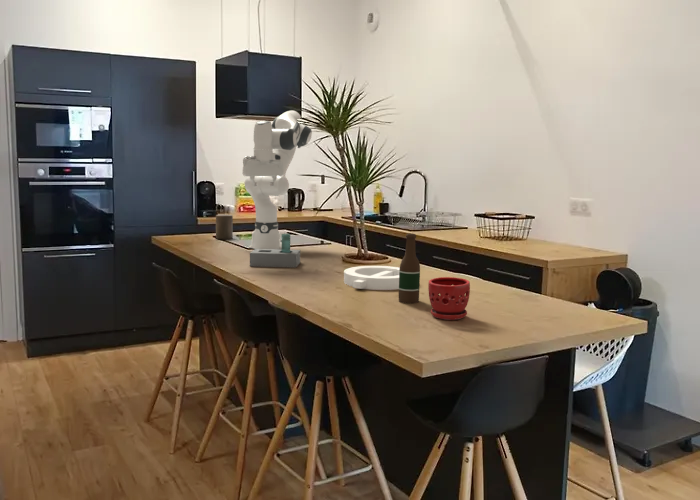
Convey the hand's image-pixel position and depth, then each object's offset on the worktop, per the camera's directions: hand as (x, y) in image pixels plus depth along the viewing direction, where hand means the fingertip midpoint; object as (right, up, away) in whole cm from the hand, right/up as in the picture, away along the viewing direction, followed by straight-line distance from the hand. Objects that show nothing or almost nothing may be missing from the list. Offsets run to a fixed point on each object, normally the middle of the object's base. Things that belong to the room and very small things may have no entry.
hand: (263, 185), depth 314 cm
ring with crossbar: (+52, -44, -45) cm, 82 cm away
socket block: (+7, -37, -8) cm, 38 cm away
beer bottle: (+61, -48, -77) cm, 110 cm away
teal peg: (+11, -37, -8) cm, 39 cm away
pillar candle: (-32, -24, +75) cm, 86 cm away
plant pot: (+72, -52, -99) cm, 133 cm away
